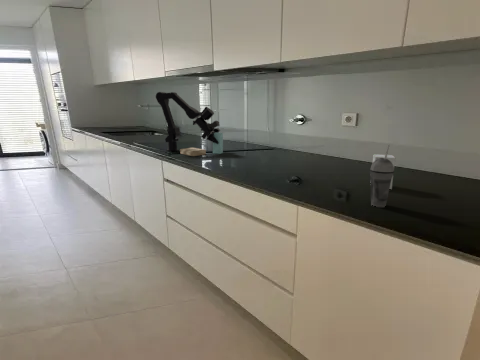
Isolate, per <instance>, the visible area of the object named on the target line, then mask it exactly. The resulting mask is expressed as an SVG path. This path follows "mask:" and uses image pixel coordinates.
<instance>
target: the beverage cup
mask: <svg viewBox="0 0 480 360" xmlns="http://www.w3.org/2000/svg"><path fill="white" fill-rule="evenodd" d="M389 150H390V144H387V146H386V151H385V154H384V155H385V158H379V159H377V160H375V161H374V162H373V161H372V163H371V166H370V169H369V175H370V183H371V184H370V206H372V205H373V206H372V207H374V206H376V207H375V208H385V206H387V202H388V198H389V194H390V193H389V192H390V190H389V189H390V184H391V179H392V177H393V178H394V173H395V165H394V166H393V164H392V162H391V161H390V160H388V159H386V158H387V155H389V153H388V152H389Z"/></svg>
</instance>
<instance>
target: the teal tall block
mask: <svg viewBox="0 0 480 360" xmlns="http://www.w3.org/2000/svg"><path fill="white" fill-rule="evenodd" d="M214 137H215V138H216V139H217V141H218V142H219V143H218V144H216V143H214V142H212V154H217V155H218V154H219V155H220V154H223V153H224V139H223V138H224V133H223V132H219V133H214Z"/></svg>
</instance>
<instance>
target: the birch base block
mask: <svg viewBox="0 0 480 360" xmlns="http://www.w3.org/2000/svg"><path fill="white" fill-rule="evenodd" d="M179 152H180V154H181V155H185V156H191V157H196V156H204V155H205V156H206V155H207V153H206V152H207V150H206V149H203V148H198V147H187V148H186V147H185V148H180V149H179Z"/></svg>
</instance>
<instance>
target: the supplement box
mask: <svg viewBox="0 0 480 360" xmlns="http://www.w3.org/2000/svg"><path fill="white" fill-rule="evenodd" d="M379 158H385V154H377V153H376V154H373V155H372V163H373V162H374V161H375V160H377V159H379ZM386 159H388V160H390V161H391V162H392V164H393V166H394V167H395V164H396V157H395V156H394V155H392V154H387V158H386ZM393 179H394V176H393V177H392V179H391V184H390V189H391V190H392V189H393Z"/></svg>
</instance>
